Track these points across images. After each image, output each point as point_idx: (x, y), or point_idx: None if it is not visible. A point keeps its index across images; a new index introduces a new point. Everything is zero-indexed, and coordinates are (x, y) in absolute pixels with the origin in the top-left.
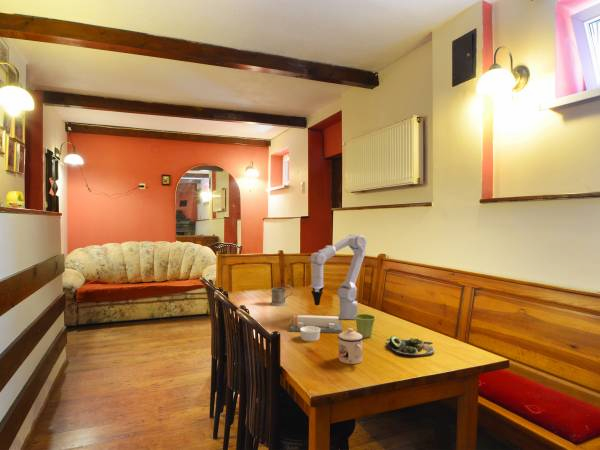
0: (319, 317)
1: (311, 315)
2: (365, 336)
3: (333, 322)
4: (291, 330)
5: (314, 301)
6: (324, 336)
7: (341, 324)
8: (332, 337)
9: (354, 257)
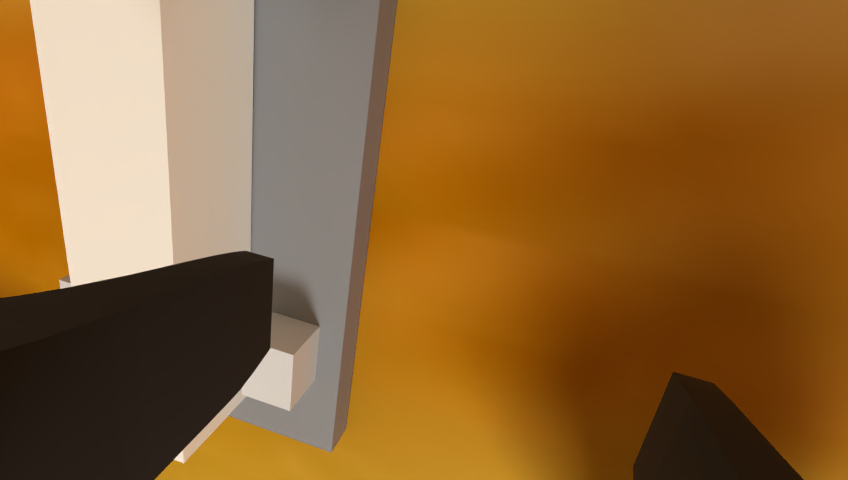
0: (80, 210)
1: (159, 96)
2: None
3: None
4: None
5: (153, 274)
6: (6, 173)
7: (256, 424)
8: (2, 238)
9: None
